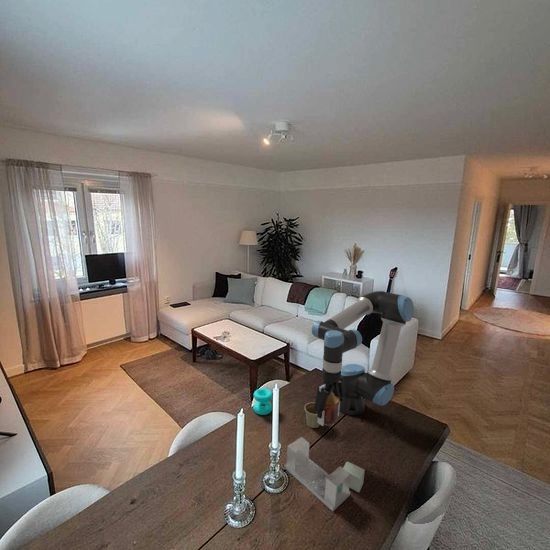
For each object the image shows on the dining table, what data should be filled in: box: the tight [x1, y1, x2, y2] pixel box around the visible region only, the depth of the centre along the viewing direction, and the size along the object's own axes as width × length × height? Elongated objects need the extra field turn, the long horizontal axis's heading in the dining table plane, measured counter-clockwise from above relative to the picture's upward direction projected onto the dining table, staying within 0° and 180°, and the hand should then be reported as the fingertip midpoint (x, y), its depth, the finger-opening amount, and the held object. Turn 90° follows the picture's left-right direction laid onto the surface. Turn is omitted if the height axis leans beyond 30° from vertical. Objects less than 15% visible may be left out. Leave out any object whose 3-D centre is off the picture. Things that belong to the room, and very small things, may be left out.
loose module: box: [342, 461, 366, 493], centre depth 115 cm, size 5×7×6 cm
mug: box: [324, 392, 340, 426], centre depth 126 cm, size 12×9×10 cm
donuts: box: [252, 387, 273, 416], centre depth 157 cm, size 10×10×10 cm
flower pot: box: [304, 402, 321, 429], centre depth 147 cm, size 9×9×9 cm
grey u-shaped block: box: [284, 436, 351, 512], centre depth 115 cm, size 10×25×10 cm, turn 41°
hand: (328, 418), depth 127 cm, fingers closed on mug, 9 cm apart
